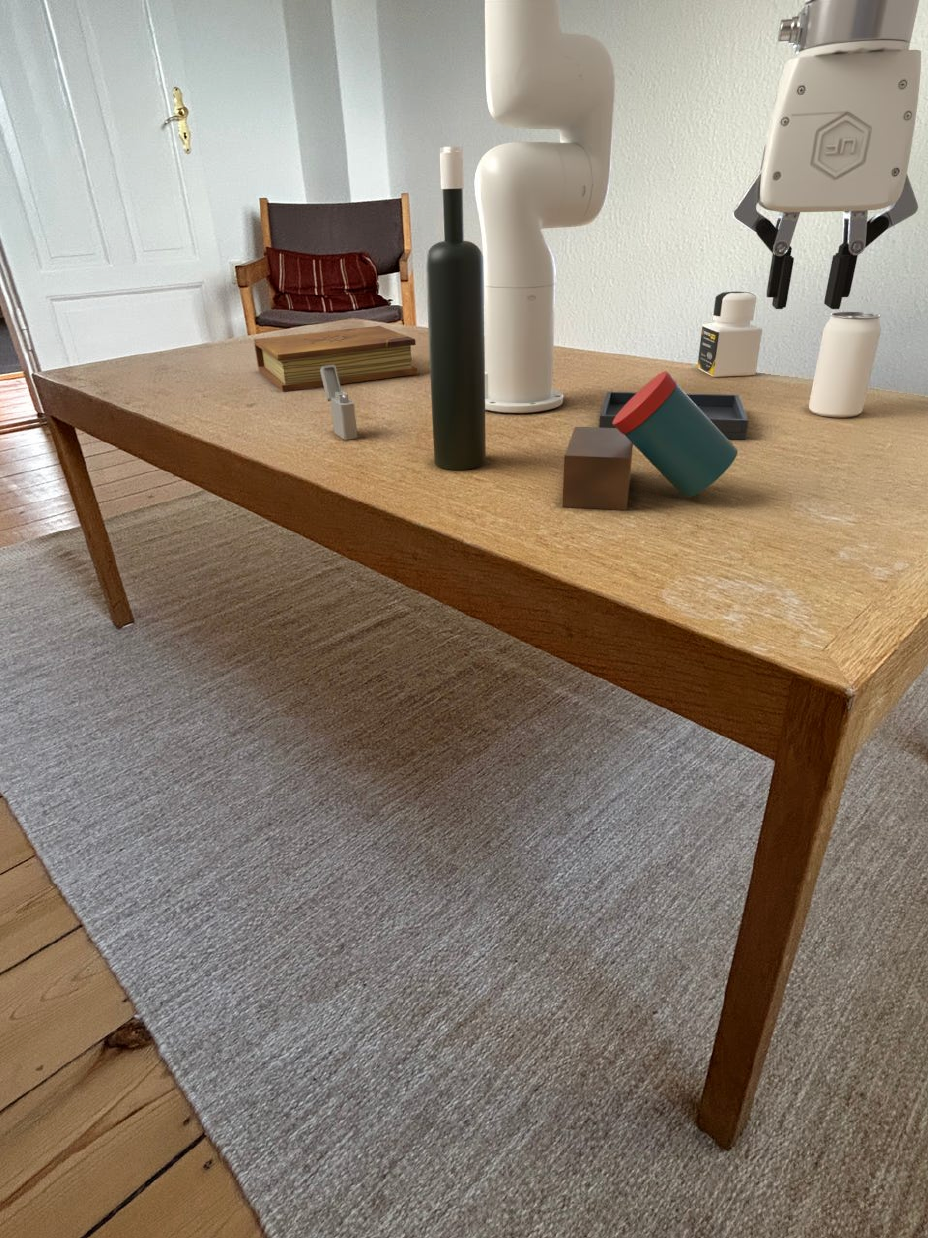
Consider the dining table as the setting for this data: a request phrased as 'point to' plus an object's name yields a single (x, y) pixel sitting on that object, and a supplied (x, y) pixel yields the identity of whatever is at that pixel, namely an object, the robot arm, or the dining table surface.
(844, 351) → the can
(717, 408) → the tray
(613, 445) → the block
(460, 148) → the wine bottle
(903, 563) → the dining table surface
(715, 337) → the medicine bottle
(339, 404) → the lighter
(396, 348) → the diary
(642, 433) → the container
